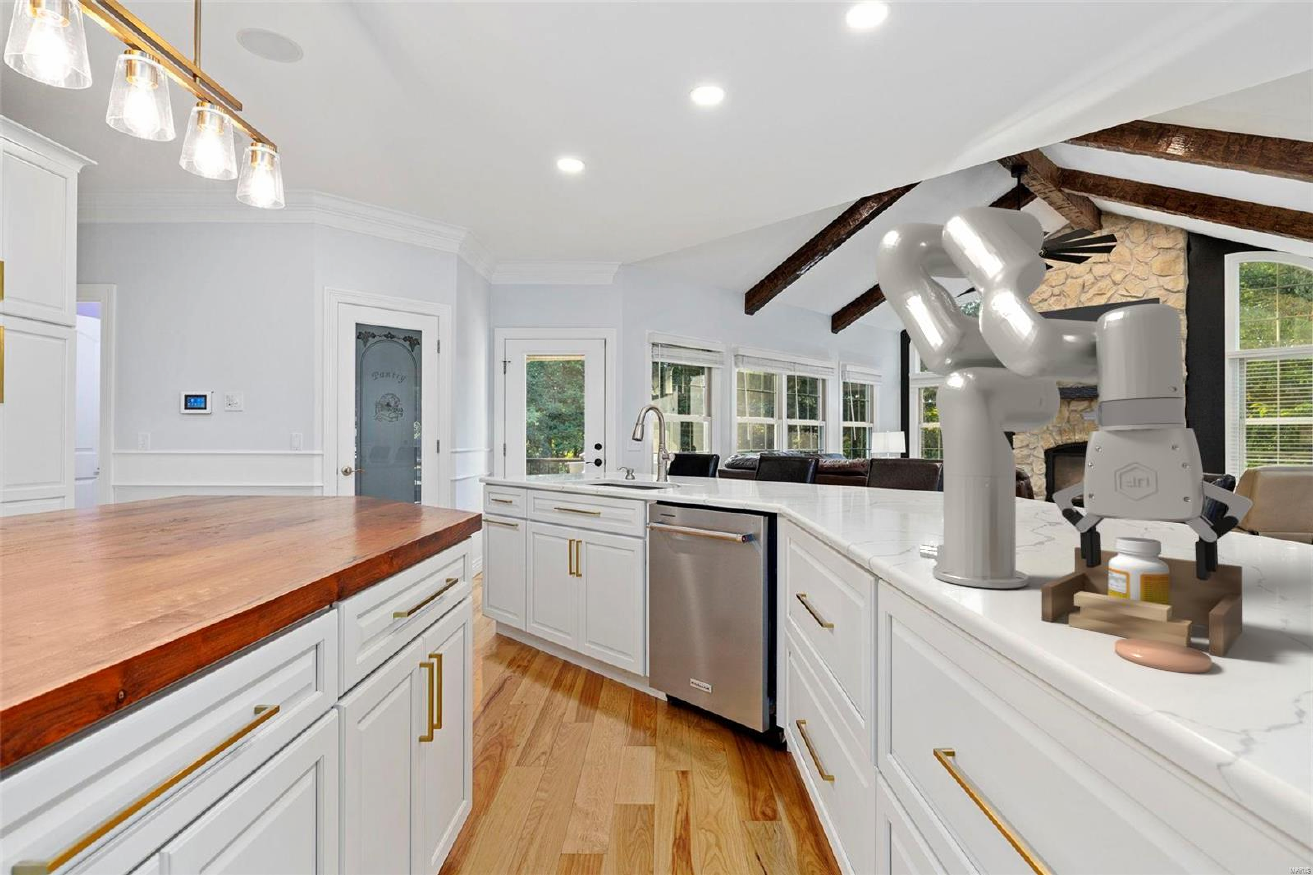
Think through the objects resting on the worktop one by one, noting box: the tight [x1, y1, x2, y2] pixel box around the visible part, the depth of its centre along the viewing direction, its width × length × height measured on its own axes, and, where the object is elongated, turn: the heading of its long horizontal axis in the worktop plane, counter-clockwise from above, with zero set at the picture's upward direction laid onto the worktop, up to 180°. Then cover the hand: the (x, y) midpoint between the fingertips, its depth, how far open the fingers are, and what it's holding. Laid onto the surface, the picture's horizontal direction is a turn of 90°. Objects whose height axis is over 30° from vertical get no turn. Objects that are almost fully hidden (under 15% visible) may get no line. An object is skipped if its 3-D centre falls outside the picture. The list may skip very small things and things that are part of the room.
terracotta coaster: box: [1114, 638, 1212, 674], centre depth 57 cm, size 7×7×1 cm
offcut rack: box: [1041, 546, 1243, 658], centre depth 68 cm, size 15×13×7 cm
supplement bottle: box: [1108, 536, 1170, 606], centre depth 68 cm, size 5×5×10 cm
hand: (1145, 572), depth 67 cm, fingers open, 9 cm apart
